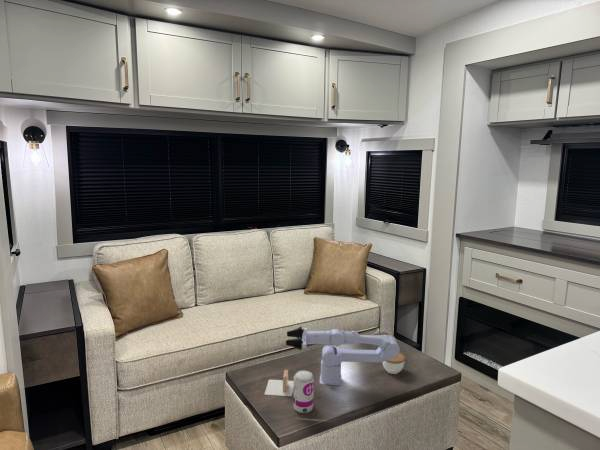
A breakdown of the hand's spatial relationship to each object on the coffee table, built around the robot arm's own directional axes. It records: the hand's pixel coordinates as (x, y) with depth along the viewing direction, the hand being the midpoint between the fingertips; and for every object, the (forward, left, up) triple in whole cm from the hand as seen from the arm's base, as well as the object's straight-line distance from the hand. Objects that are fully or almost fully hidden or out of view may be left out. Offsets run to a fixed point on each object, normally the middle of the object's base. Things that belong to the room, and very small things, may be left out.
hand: (286, 338), depth 186 cm
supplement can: (-10, +21, -21) cm, 31 cm away
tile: (-1, +8, -20) cm, 21 cm away
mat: (+2, +8, -20) cm, 22 cm away
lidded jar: (-51, -13, -21) cm, 56 cm away
